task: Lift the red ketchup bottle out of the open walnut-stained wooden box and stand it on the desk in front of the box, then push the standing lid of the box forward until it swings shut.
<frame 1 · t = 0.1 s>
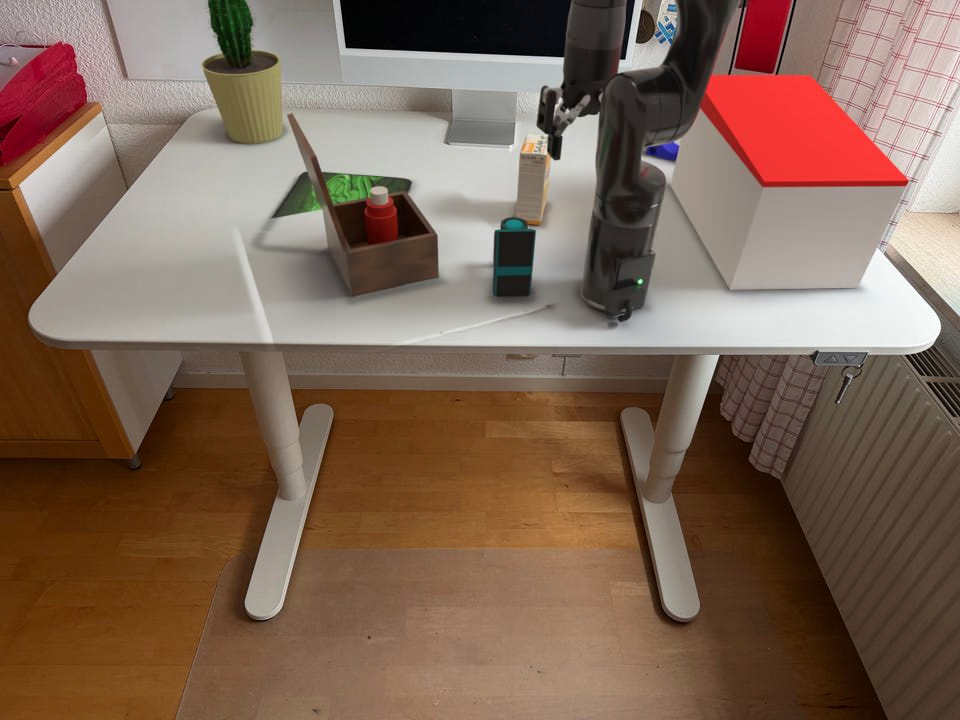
hand: (579, 153, 100), 17 cm above the table, tool pointing down, fingers open, 8 cm apart
black and teal battery: (508, 283, 105), on the table
supplement box: (531, 214, 121), on the table
chest lid: (317, 182, 94), point 16 cm above the table, hinge at 100.0°
mouse mat: (339, 213, 120), on the table, touching chest
red-topped white box: (753, 231, 118), on the table
ketchup bottle: (385, 260, 107), point 1 cm above the table, touching chest
cable clip: (676, 158, 140), on the table
potted cactus: (256, 133, 145), on the table
chest: (382, 266, 107), on the table
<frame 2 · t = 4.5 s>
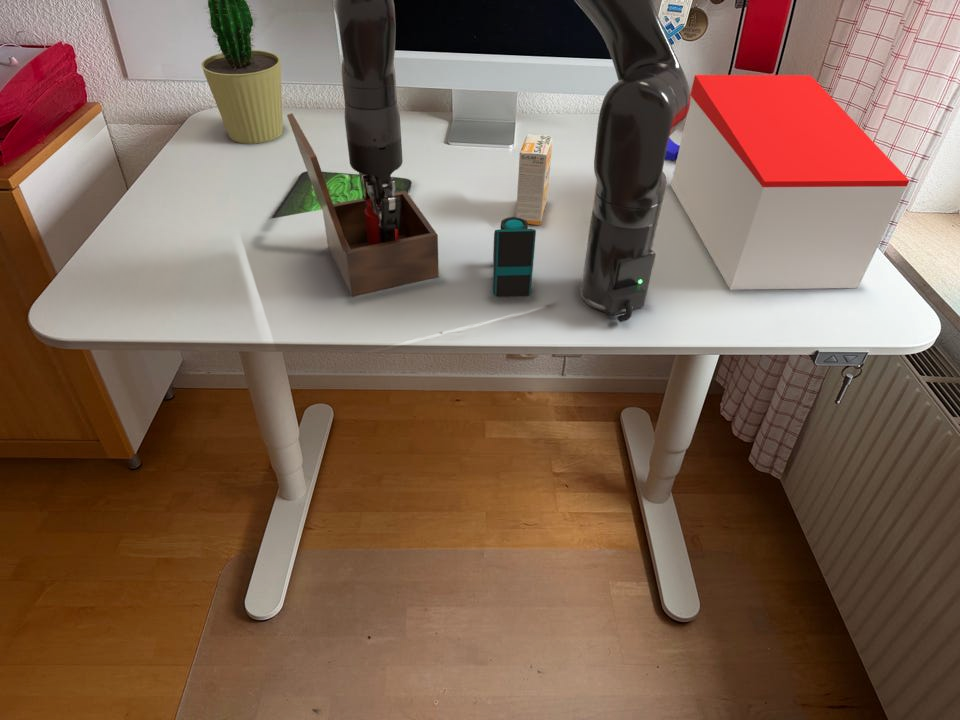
hand: (383, 238, 104), 5 cm above the table, tool pointing down, fingers closed on ketchup bottle, 5 cm apart
ketchup bottle: (385, 260, 107), point 1 cm above the table, touching chest, gripper
everything else where it was.
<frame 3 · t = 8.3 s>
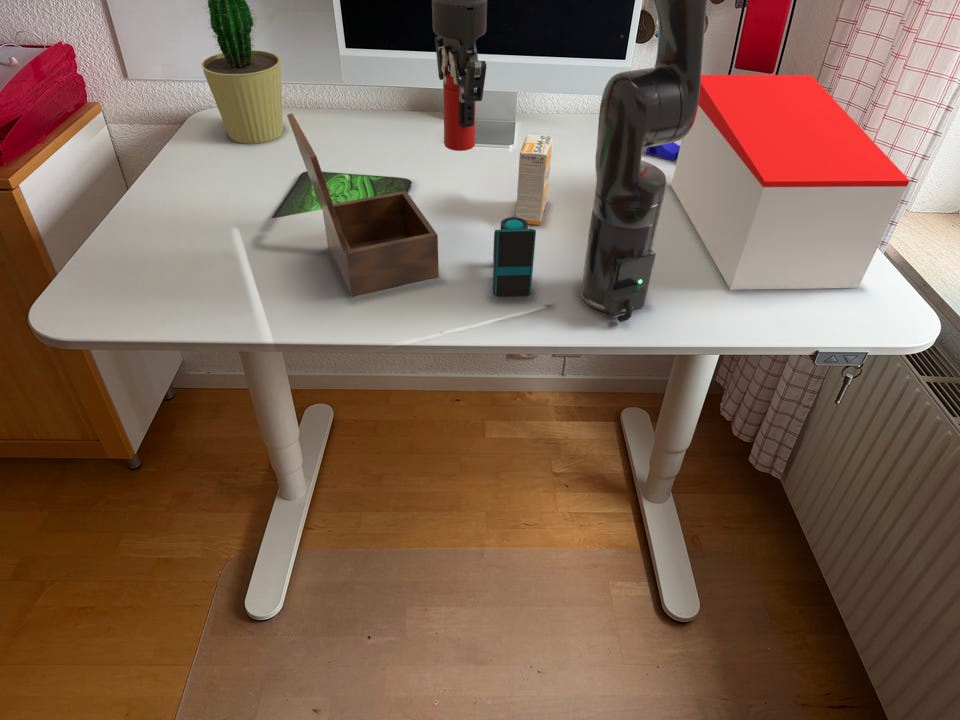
hand: (459, 118, 102), 20 cm above the table, tool pointing down, fingers closed on ketchup bottle, 5 cm apart
ketchup bottle: (459, 144, 105), point 16 cm above the table, touching gripper
everything else where it was.
when the fingers open (4 cm above the table, at t = 12.3 s): ketchup bottle stays where it is, on the table.
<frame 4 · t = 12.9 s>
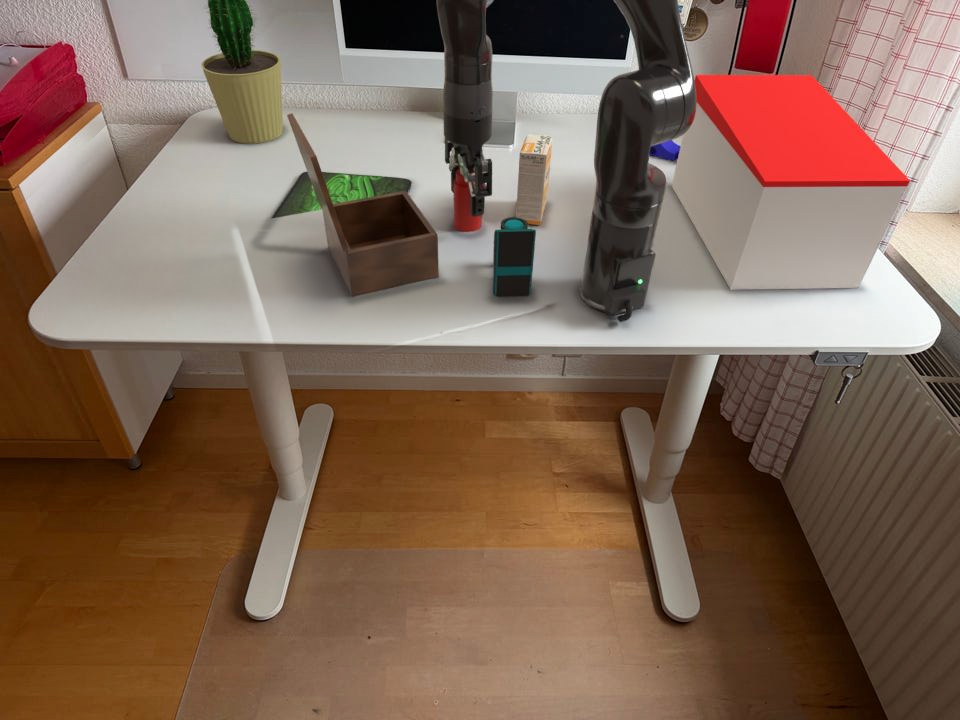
hand: (467, 203, 113), 5 cm above the table, tool pointing down, fingers open, 8 cm apart
ketchup bottle: (467, 229, 116), on the table
everything else where it was.
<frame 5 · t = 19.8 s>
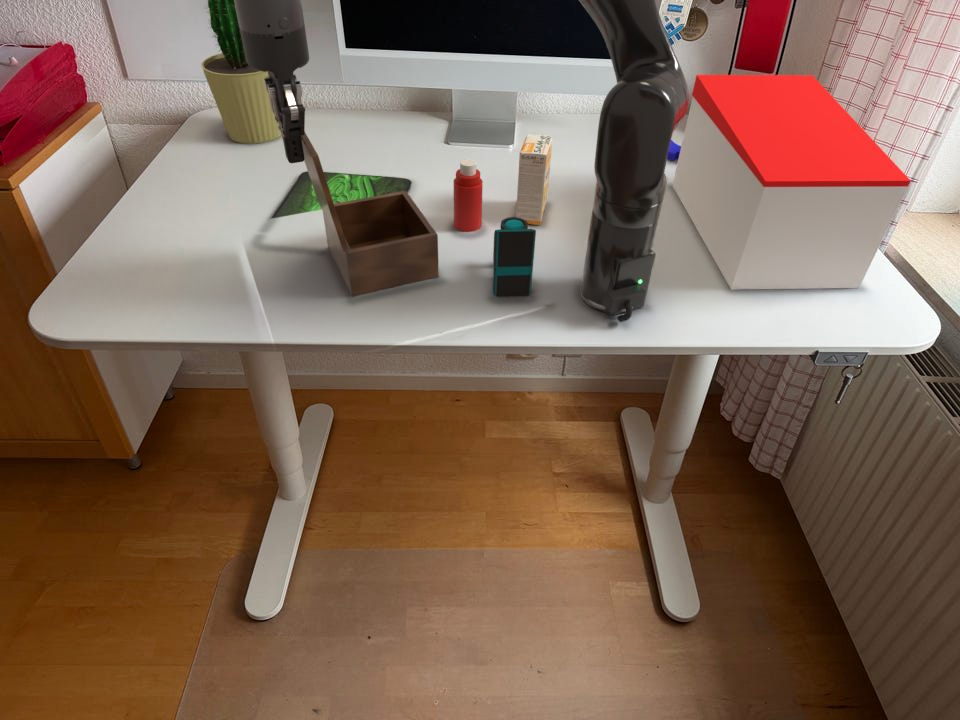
hand: (295, 160, 91), 20 cm above the table, tool pointing down, fingers closed
chest lid: (318, 182, 94), point 16 cm above the table, hinge at 99.0°, touching gripper
everything else where it was.
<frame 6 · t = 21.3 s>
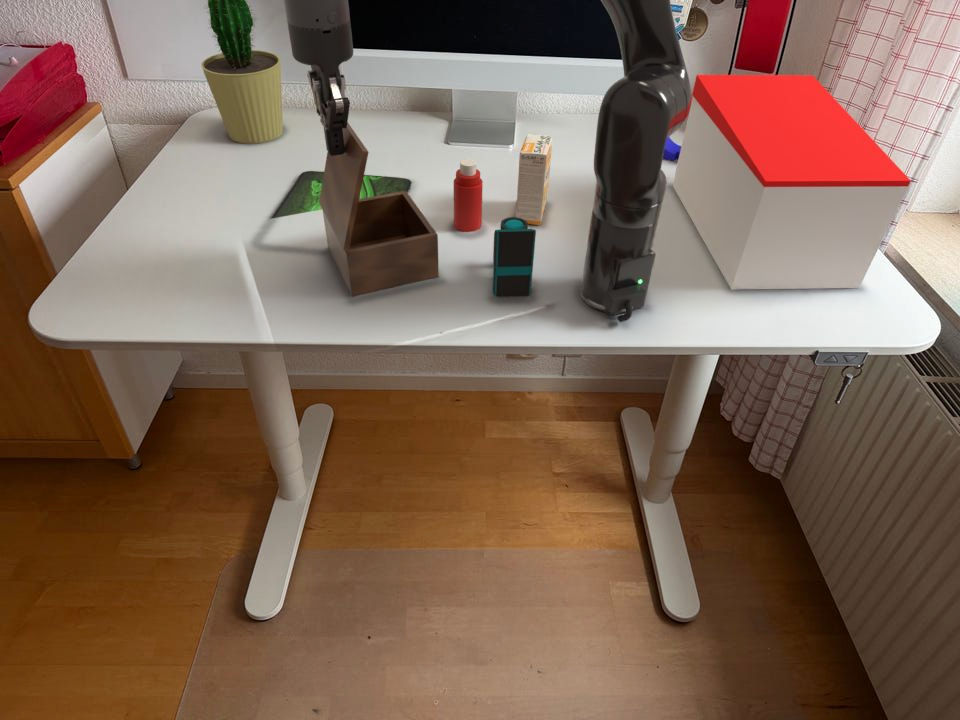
hand: (336, 152, 92), 20 cm above the table, tool pointing down, fingers closed
chest lid: (341, 179, 95), point 16 cm above the table, hinge at 73.1°
everything else where it was.
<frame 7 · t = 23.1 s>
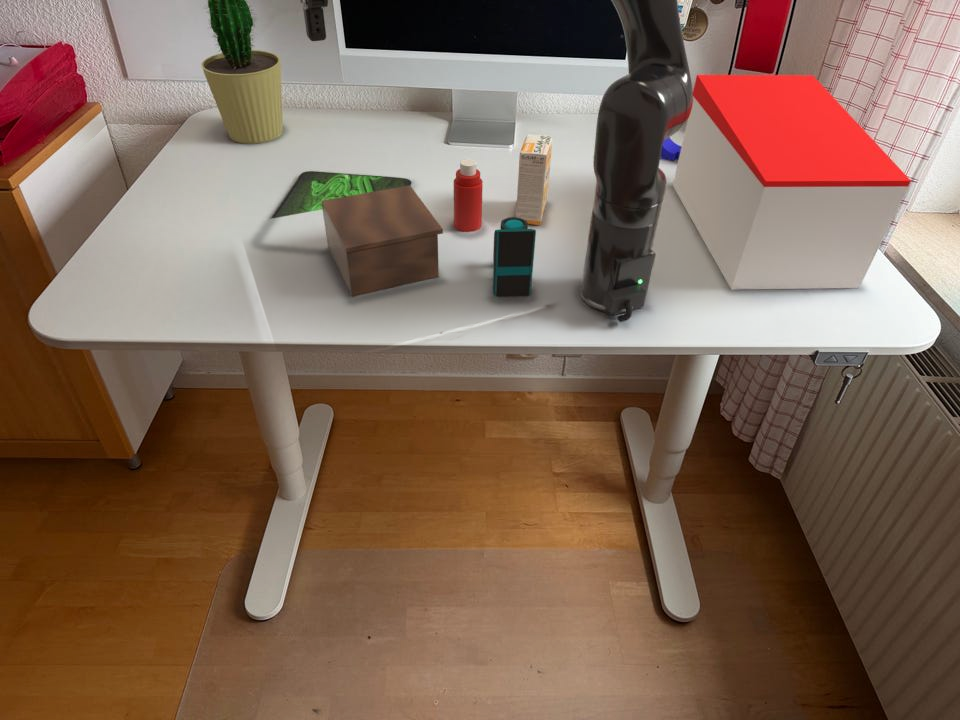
hand: (317, 39, 87), 33 cm above the table, tool pointing down, fingers closed
chest lid: (380, 216, 102), point 9 cm above the table, hinge at -0.2°
mouse mat: (339, 213, 120), on the table
everything else where it was.
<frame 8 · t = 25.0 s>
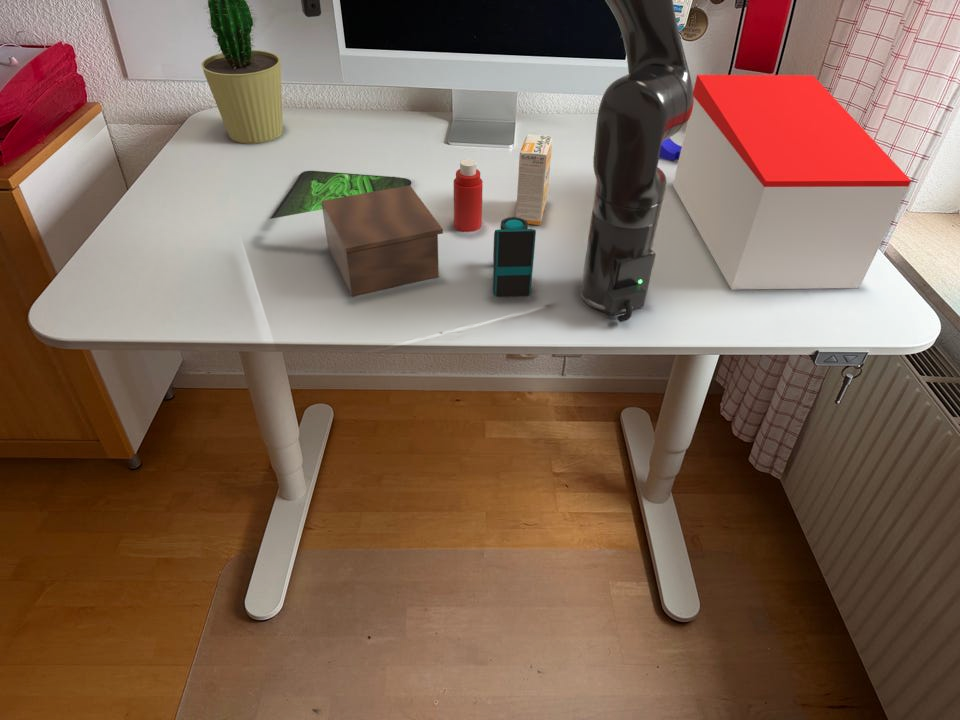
hand: (312, 15, 89), 35 cm above the table, tool pointing down, fingers closed
mouse mat: (339, 213, 120), on the table, touching chest
everything else where it was.
at the end: ketchup bottle inside the target area (0.2 cm from its centre), on the table; ketchup bottle tilted 0°; chest lid at +0° (first picture: +100°) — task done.
